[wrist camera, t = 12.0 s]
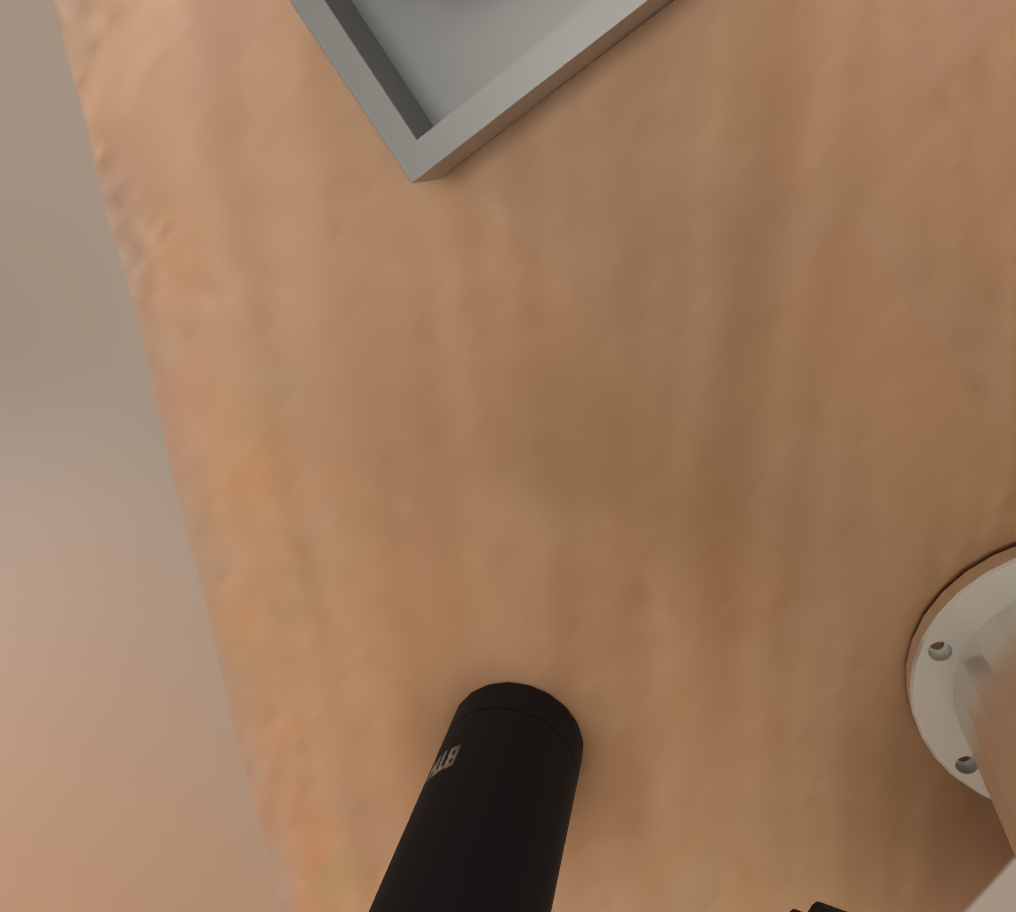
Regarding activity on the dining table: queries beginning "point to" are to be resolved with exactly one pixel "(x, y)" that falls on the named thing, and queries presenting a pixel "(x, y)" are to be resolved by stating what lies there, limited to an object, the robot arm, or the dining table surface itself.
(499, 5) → the box
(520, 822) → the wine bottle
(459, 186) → the dining table surface
